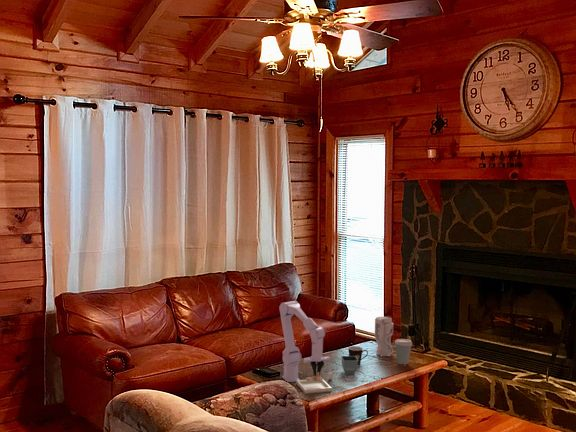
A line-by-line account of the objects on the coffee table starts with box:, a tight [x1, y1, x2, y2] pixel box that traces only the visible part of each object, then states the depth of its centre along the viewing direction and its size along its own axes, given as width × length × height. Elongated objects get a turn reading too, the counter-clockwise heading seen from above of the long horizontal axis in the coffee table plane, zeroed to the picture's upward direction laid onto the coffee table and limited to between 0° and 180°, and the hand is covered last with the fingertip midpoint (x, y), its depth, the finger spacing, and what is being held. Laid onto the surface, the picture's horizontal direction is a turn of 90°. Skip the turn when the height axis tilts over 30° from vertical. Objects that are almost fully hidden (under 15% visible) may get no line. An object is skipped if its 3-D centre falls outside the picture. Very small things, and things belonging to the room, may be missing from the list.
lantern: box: [374, 316, 395, 357], centre depth 393 cm, size 13×10×25 cm
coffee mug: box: [347, 345, 369, 366], centre depth 374 cm, size 12×9×10 cm
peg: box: [327, 372, 333, 381], centre depth 346 cm, size 2×2×4 cm
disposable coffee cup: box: [394, 338, 413, 365], centre depth 377 cm, size 11×11×15 cm
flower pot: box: [340, 355, 359, 375], centre depth 358 cm, size 9×9×9 cm
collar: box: [305, 371, 324, 381], centre depth 332 cm, size 10×7×4 cm
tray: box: [296, 379, 333, 395], centre depth 334 cm, size 15×15×2 cm
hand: (316, 374), depth 330 cm, fingers closed on collar
